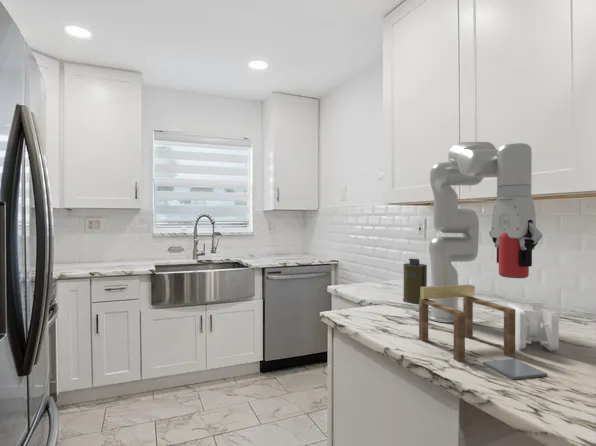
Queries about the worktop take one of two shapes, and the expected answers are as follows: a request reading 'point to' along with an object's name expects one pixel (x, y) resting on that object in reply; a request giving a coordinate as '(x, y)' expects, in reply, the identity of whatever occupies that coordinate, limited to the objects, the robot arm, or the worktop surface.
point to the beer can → (510, 258)
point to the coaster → (514, 369)
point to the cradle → (467, 324)
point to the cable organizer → (536, 327)
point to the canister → (414, 280)
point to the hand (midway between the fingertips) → (513, 264)
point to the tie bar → (447, 291)
